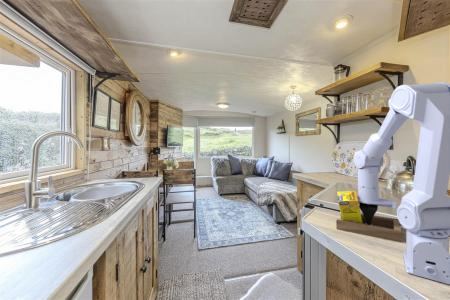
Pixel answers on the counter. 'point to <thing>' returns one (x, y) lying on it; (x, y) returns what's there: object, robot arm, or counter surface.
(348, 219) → the supplement box
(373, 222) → the brown wooden tray
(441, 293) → the counter surface
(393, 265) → the counter surface
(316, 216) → the counter surface
